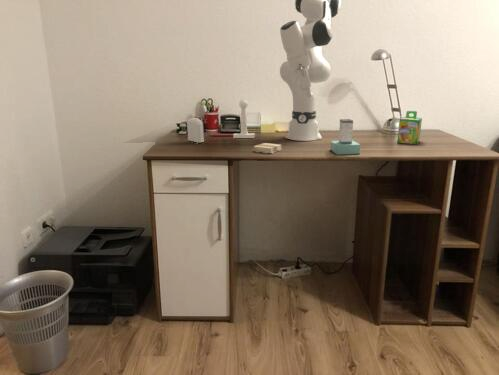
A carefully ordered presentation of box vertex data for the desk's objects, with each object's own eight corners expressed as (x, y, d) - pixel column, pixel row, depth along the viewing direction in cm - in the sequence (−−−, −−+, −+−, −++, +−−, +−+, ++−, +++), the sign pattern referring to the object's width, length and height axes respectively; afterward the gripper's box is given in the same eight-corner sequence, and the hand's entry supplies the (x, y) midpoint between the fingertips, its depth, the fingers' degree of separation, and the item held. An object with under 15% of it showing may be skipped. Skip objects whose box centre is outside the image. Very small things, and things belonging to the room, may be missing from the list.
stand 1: (264, 148, 199) (264, 142, 198) (281, 150, 194) (281, 144, 193) (253, 151, 192) (253, 146, 191) (270, 153, 187) (270, 148, 186)
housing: (338, 142, 189) (339, 119, 186) (348, 141, 189) (349, 119, 187) (341, 143, 185) (343, 120, 182) (351, 143, 185) (353, 120, 182)
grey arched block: (186, 141, 218) (185, 117, 214) (194, 140, 221) (192, 116, 217) (197, 144, 210) (196, 119, 207) (205, 143, 213) (203, 118, 209)
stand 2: (330, 149, 193) (331, 141, 191) (352, 149, 194) (352, 140, 192) (337, 154, 183) (337, 145, 182) (359, 153, 184) (360, 144, 183)
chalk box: (397, 143, 204) (399, 112, 200) (400, 139, 212) (402, 109, 208) (417, 144, 200) (420, 112, 196) (419, 141, 208) (423, 110, 204)
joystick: (233, 139, 222) (232, 100, 216) (234, 136, 229) (233, 98, 223) (254, 138, 221) (254, 99, 216) (254, 136, 229) (254, 98, 223)
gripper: (308, 63, 165) (318, 97, 170) (305, 57, 184) (314, 88, 189) (292, 68, 167) (302, 102, 171) (291, 62, 185) (300, 93, 190)
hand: (308, 95), depth 180 cm, fingers open, 8 cm apart
